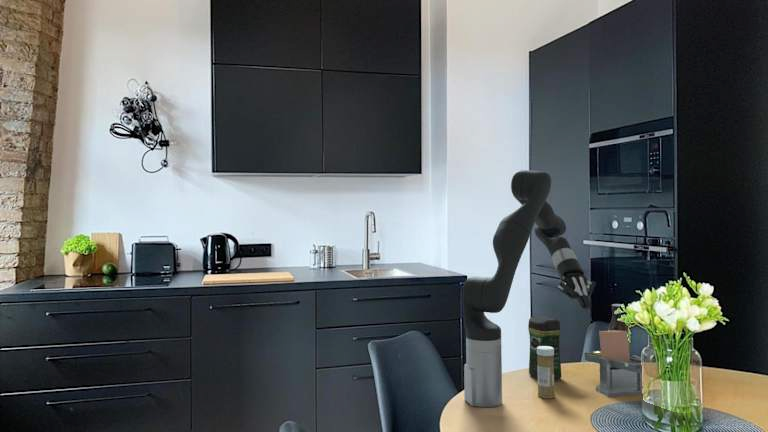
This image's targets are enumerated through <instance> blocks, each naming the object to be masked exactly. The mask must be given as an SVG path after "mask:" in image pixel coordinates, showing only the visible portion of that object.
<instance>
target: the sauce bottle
mask: <svg viewBox="0 0 768 432" xmlns="http://www.w3.org/2000/svg"><path fill="white" fill-rule="evenodd" d="M621 305H624V306H625V307H626V305H625V304H621V303H613V304H611V313H612V314H611V315H612V316H611V321H610V323H609V326H608V331H612V330H617V331H627V333H628V327H629V326H628V327H627V325H625V324H624V323H622V322H620V321H617V319H618V318H619V317H620V316H621V315H622V314H617V315H615V314H614V311H615V310H616V309H617V308H619V307H620V306H621ZM628 347H629V348H630V341H629V342H628ZM630 353H631V352H629V356H631V355H630Z"/></svg>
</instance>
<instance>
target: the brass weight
mask: <svg viewBox="0 0 768 432" xmlns="http://www.w3.org/2000/svg"><path fill="white" fill-rule="evenodd" d="M592 352H593V355H594V356H599V357H601V350H594V351H592Z"/></svg>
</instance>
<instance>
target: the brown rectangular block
mask: <svg viewBox="0 0 768 432" xmlns="http://www.w3.org/2000/svg"><path fill="white" fill-rule="evenodd" d="M598 333H599V334H598V335H599V336H598V337H599V345H600V351H601V357H603V358H608V359H612V360H617V361H629V360H630V358H631V357H630V356H631V355H630V356H629V353H630V346H629V347H628V339H627V331H617V330H612V331H609V330H598Z"/></svg>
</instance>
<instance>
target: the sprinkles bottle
mask: <svg viewBox="0 0 768 432" xmlns="http://www.w3.org/2000/svg"><path fill="white" fill-rule="evenodd" d="M537 356H538V365H537V371H538V379H537V396H538V397H539V398H541V399H547V400H548V399H553V398H555V396H556V394H555V381H554V362H553V357H554V348H553V347H550V346H539V347H537Z"/></svg>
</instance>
